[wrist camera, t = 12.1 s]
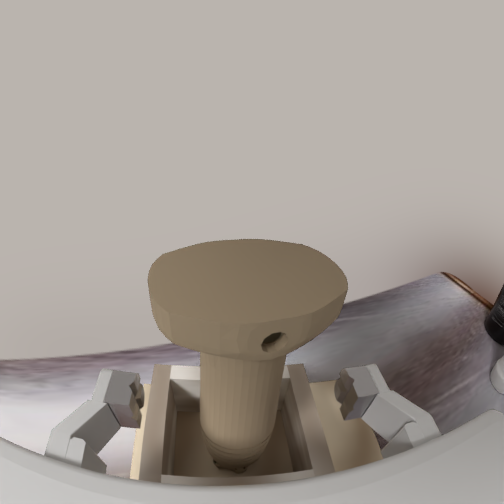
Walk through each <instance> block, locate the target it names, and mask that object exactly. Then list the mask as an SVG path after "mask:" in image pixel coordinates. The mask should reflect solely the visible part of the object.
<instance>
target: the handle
mask: <svg viewBox="0 0 504 504" xmlns="http://www.w3.org/2000/svg"><path fill="white" fill-rule="evenodd" d="M148 286H149V294H150V300H151V306H152V312H153V315H154V319H155V321H156V323H157V326H158V328H159V330H160V331H161V332H162V333H163V334H164V335H165V337H166V338H168V339H169V340H170V341H171V342H172V343H174V344H176V345H179V346H182V347H185V348H188V349H191V350H195V351H198V352H200V426H201V432H202V437H203V440H204V443H205V446H206V448H207V450H208V452H209V454H210V455H211V457H212V458H213V463H214V465H215V466H216V467H217V468H218V469H228V470H231V471H233V472H235V473H236V474H240V473H243V472H245V471H246V470H247V468H248V466H249V465H251V464H253V463H254V462H255V461H257V460H258V459H259V457H260V456H261V454H262V453H263V451H264V450H265V448H266V446H267V444H268V442H269V440H270V438H271V435H272V431H273V428H274V424H275V419H276V413H277V407H278V400H279V394H280V388H281V382H282V377H283V371H284V365H285V359H286V354H288V353H290V352H292V351H294V350H296V349H298V348H299V347H301V346H303V345H304V344H306V343H307V342H309V341H311V340H312V339H314V338H315V337H316V336H318V335H319V334H320V333H321V332H323V331H324V330H325V329H326V328H327V327H328V326H329V325H331V324H332V323H333V322H334V321H335V320H336V319H337V318H338V316H339V314H340V312H341V309H342V306H343V303H344V300H345V297H346V293H347V290H348V283H347V279H346V277H345V275H344V273H343V271H342V270H341V269H340V268H339V267H338V266H337V264H335V262H333V261H332V260H331V259H330V258H328V257H327V256H326V255H324V254H322V253H321V252H319V251H317V250H315V249H313V248H310V247H308V246H305V245H303V244H295V243H289V242H280V241H272V240H263V239H239V240H223V241H213V242H205V243H200V244H195V245H192V246H188V247H185V248H182V249H178V250H175V251H172V252H169V253H165V254H163V255H161V256H160V257H159V258H158V259H157V260H156V261H155V262H154V263H153V264H152V266H151V268H150V270H149V276H148Z"/></svg>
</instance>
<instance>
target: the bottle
mask: <svg viewBox="0 0 504 504" xmlns="http://www.w3.org/2000/svg"><path fill="white" fill-rule="evenodd" d="M490 379H491V382H492V385H493V386H494V388H495V389H496V390H497V391H498V392H500V393H501V394H504V355H503V357H502V358H500V359H498V361H497V362H496V364H495V366H494V367H493V369H492V371H491V374H490Z"/></svg>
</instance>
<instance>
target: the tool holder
mask: <svg viewBox="0 0 504 504" xmlns="http://www.w3.org/2000/svg"><path fill="white" fill-rule="evenodd" d="M336 381H337V380H331V381H323V382H315V383H309V381H308V378H307V375H306V372H305V368H304V365H303V364H294V365H284V371H283V377H282V382H281V388H280V394H279V400H278V407H277V413H276V419H275V424H274V428H273V431H272V435H271V438H270V440H269V442H268V444H267V446H266V448H265V450H264V451H263V453H262V454H261V456H260V457H259V459H258V460H257V461H255V462H254V463H253V464H251V465H249V466H248V468H247V470H246V471H245V472H243V473H240V474H236V473H235V472H233V471H231V470H228V469H218V468H217V467H216V466H215V465H214V463H213V458H212V457H211V455H210V454H209V452H208V450H207V448H206V446H205V443H204V440H203V437H202V432H201V426H200V366H175V365H159V364H155V365H154V371H153V376H152V382H151V384H144V387H143V388H144V393H145V400H144V406H143V407H142V408H141V409H140V411H141V414H142V420H141V427H140V429H139V428H136V435H135V442H134V449H133V457H132V465H131V474H130V479H136V480H143V481H150V482H158V483H168V484H181V485H201V486H232V485H252V484H265V483H275V482H283V481H291V480H297V479H304V478H310V477H315V476H320V475H325V474H330V473H334V472H339V471H343V470H347V469H351V468H354V467H358V466H362V465H365V464H369V463H372V462H375V461H378V460H381V459H383V457H382V454H381V449H380V446H379V444H378V441H377V439H376V436H375V434H374V431H373V429H372V428H371V427H370V426H369V425H368V424H367V423H366V422H365V421H363V420H362V419H361V418H356V419H351V420H346V421H344V420H343V417H342V414H341V411H340V406H341V404H340V403H339V402H338V401H337V400H336V398H335V393H334V386H335V383H336Z"/></svg>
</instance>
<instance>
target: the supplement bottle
mask: <svg viewBox="0 0 504 504" xmlns="http://www.w3.org/2000/svg"><path fill="white" fill-rule="evenodd" d="M485 326H486V330H487V332H488V333H489V335H490V336H491V337H492V338H493V339H494V340H496V341H497V342H499V343H500V344H503V345H504V285H503V287H502V289H501V291H500V293H499V295H498V297H497V299H496V302H495V303H494V305H493V307H492V309H491V311H490V313H489V315H488V317H487V319H486V322H485Z"/></svg>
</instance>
